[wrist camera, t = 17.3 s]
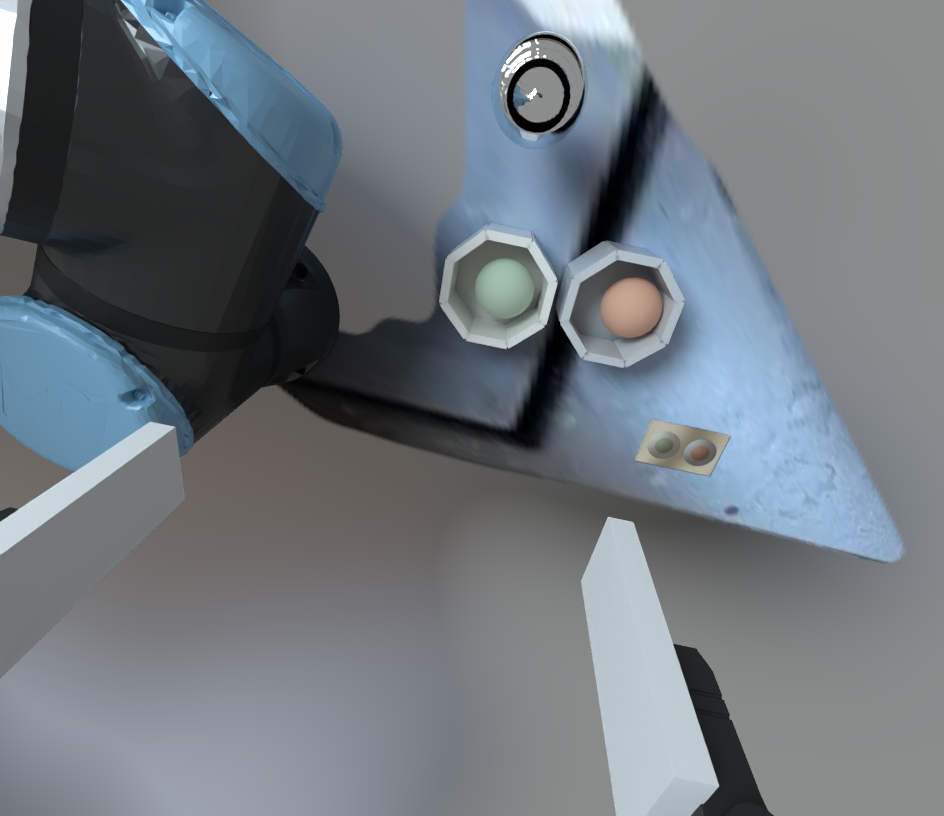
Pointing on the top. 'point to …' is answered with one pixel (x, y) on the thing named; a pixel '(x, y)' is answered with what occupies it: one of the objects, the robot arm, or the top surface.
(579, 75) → the wineglass
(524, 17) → the top surface
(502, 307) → the sage ball
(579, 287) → the grey octagonal bowl
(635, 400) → the top surface
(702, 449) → the card
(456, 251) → the white octagonal bowl
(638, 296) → the terracotta ball
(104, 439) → the robot arm
